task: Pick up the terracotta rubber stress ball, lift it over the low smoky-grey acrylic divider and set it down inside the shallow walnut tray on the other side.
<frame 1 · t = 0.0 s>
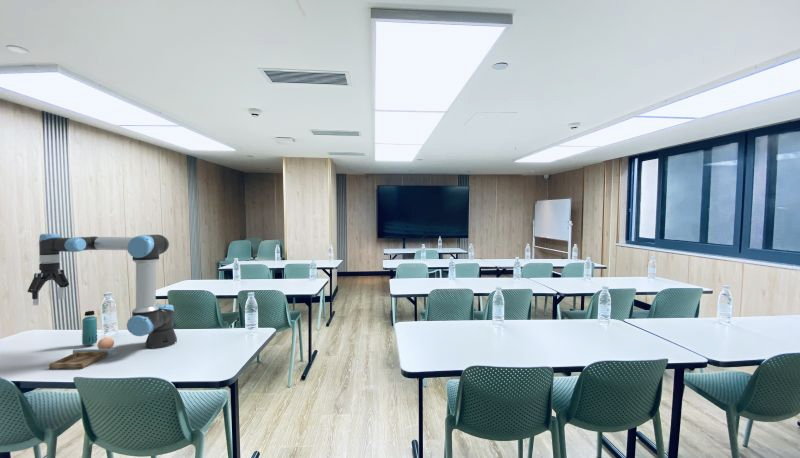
hand: (49, 302, 178), 28 cm above the table, fingers open, 13 cm apart
beverage bottle: (89, 346, 190), on the table
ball: (105, 350, 185), on the table
acrylic divider: (93, 355, 177), on the table
walnut tray: (79, 362, 168), on the table
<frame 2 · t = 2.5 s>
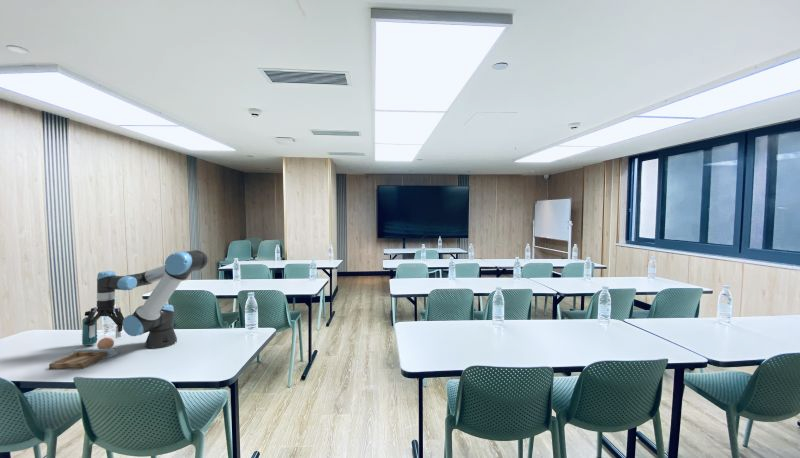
hand: (105, 337, 184), 7 cm above the table, fingers open, 13 cm apart
nothing on the table moved.
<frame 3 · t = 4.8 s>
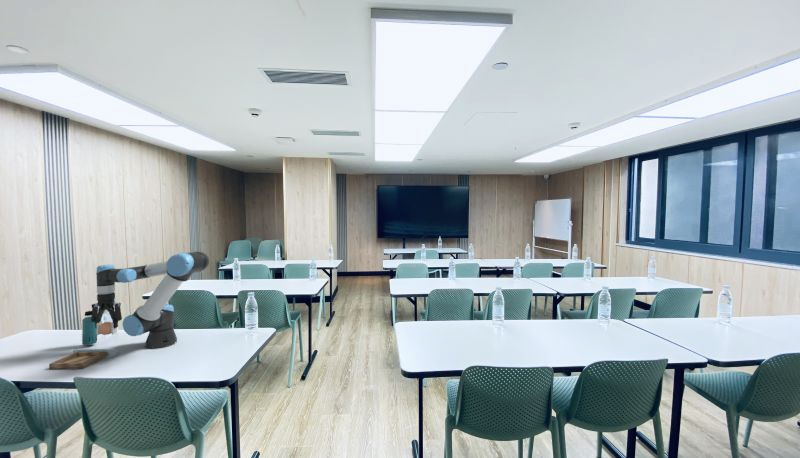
hand: (106, 333, 184), 9 cm above the table, fingers closed on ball, 7 cm apart
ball: (106, 334, 184), point 9 cm above the table, touching gripper
everything else where it was.
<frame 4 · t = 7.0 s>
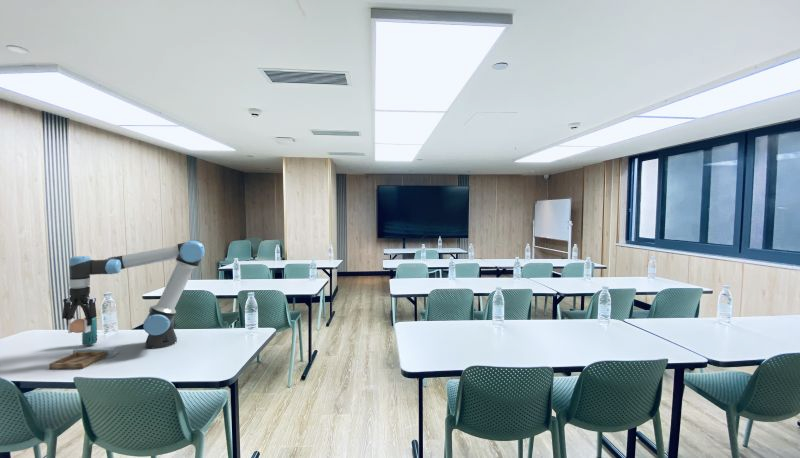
hand: (79, 332, 168), 16 cm above the table, fingers closed on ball, 7 cm apart
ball: (79, 332, 168), point 15 cm above the table, touching gripper
everything else where it was.
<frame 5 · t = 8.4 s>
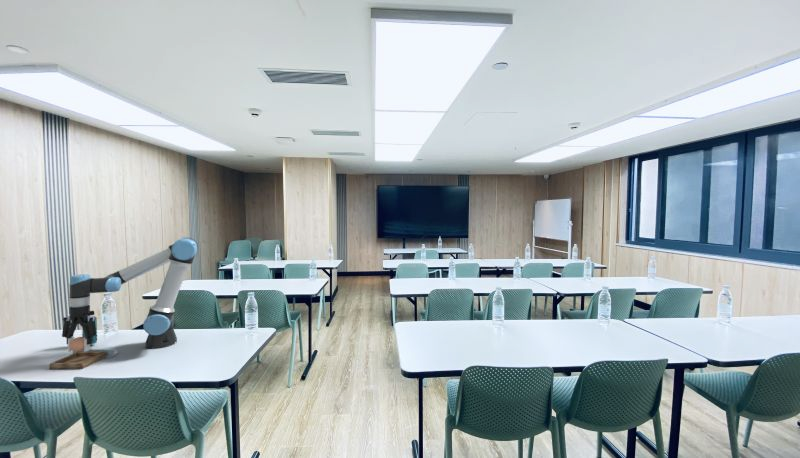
hand: (79, 350, 168), 6 cm above the table, fingers closed on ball, 7 cm apart
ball: (79, 351, 168), point 6 cm above the table, touching gripper
everything else where it was.
when the fingers open (2 cm above the table, at t = 9.6 s): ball drops 1 cm, resting on walnut tray.
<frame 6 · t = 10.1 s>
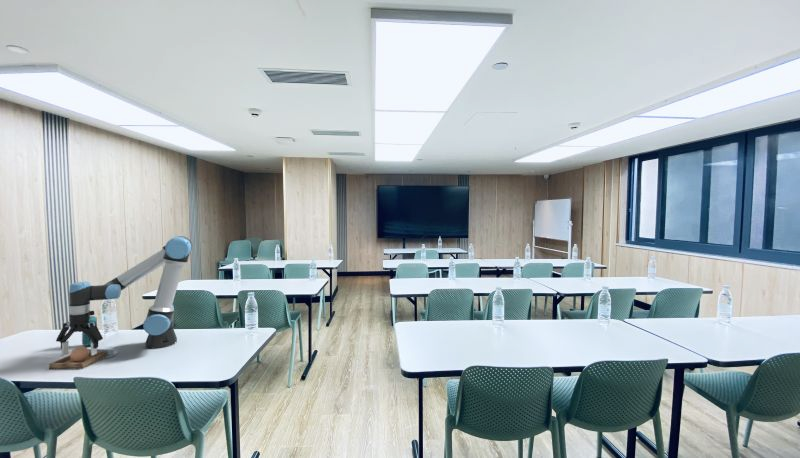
hand: (79, 354, 168), 4 cm above the table, fingers open, 13 cm apart
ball: (79, 361, 168), point 1 cm above the table, touching walnut tray
everything else where it was.
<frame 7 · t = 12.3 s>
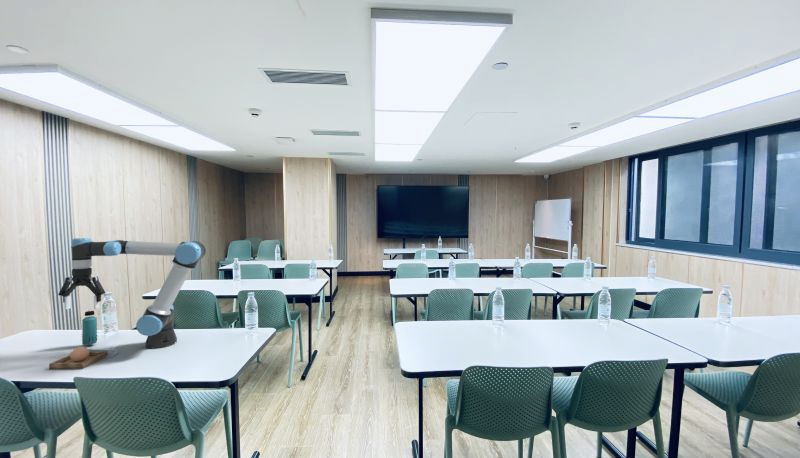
hand: (82, 308, 172), 26 cm above the table, fingers open, 13 cm apart
nothing on the table moved.
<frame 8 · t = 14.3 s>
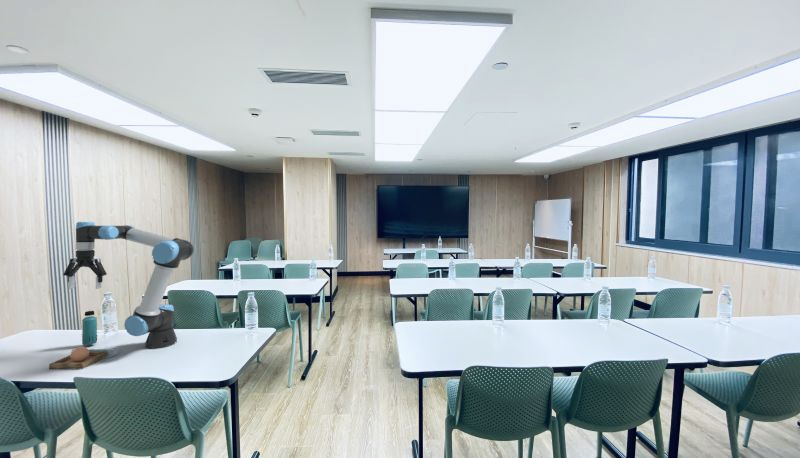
hand: (85, 288, 182), 35 cm above the table, fingers open, 13 cm apart
nothing on the table moved.
at the end: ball 0.0 cm from the walnut tray (horizontally); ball point 0.8 cm above the table; the gripper is holding nothing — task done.
